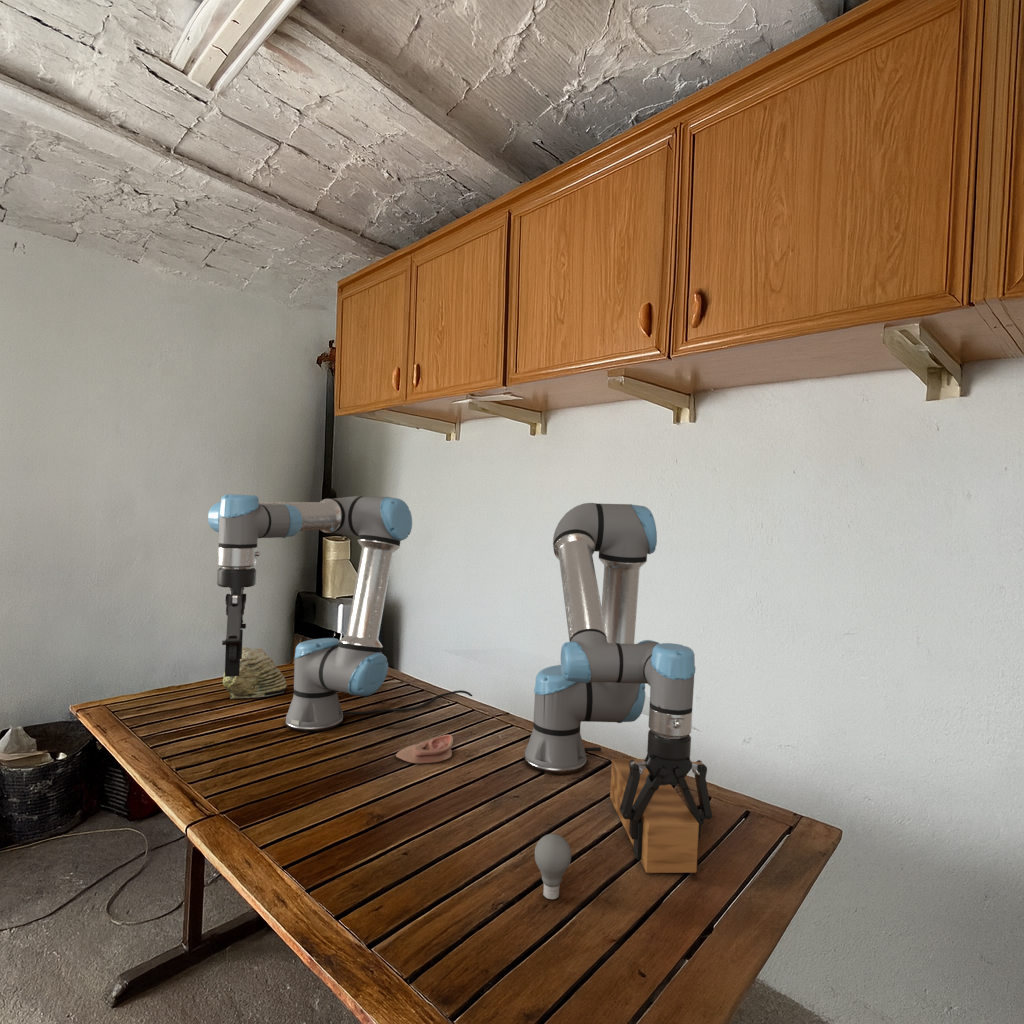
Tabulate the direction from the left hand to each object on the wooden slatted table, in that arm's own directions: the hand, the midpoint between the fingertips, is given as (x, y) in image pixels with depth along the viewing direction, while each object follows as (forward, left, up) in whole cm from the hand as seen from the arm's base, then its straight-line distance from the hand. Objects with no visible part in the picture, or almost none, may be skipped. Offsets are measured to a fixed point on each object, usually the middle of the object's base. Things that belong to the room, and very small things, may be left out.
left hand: (233, 667), depth 134 cm
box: (-46, +75, -25) cm, 91 cm away
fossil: (-37, -56, -26) cm, 72 cm away
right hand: (-39, +81, -25) cm, 93 cm away
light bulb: (-17, +72, -26) cm, 78 cm away
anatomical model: (-42, +16, -26) cm, 52 cm away
